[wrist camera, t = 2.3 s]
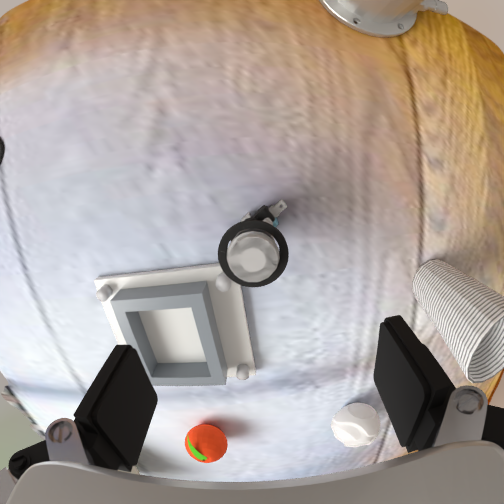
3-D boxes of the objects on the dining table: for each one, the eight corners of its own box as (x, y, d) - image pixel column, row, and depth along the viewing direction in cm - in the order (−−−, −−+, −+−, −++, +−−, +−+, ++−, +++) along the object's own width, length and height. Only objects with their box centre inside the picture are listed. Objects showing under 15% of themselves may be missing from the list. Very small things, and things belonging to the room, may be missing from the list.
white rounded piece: (323, 402, 40) (331, 441, 32) (370, 386, 38) (384, 423, 31) (333, 427, 42) (340, 462, 35) (374, 413, 41) (386, 446, 34)
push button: (267, 181, 29) (273, 196, 20) (300, 221, 30) (318, 253, 21) (218, 222, 31) (201, 255, 21) (251, 259, 32) (248, 305, 22)
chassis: (236, 260, 32) (233, 275, 28) (255, 370, 37) (255, 390, 33) (97, 277, 33) (82, 291, 29) (136, 373, 38) (127, 391, 35)
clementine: (176, 418, 42) (167, 450, 35) (208, 408, 40) (202, 443, 34) (205, 441, 44) (200, 472, 37) (237, 433, 43) (234, 466, 36)
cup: (395, 309, 34) (452, 391, 19) (410, 247, 31) (490, 311, 16) (444, 307, 34) (505, 375, 19) (460, 250, 31) (538, 304, 16)
